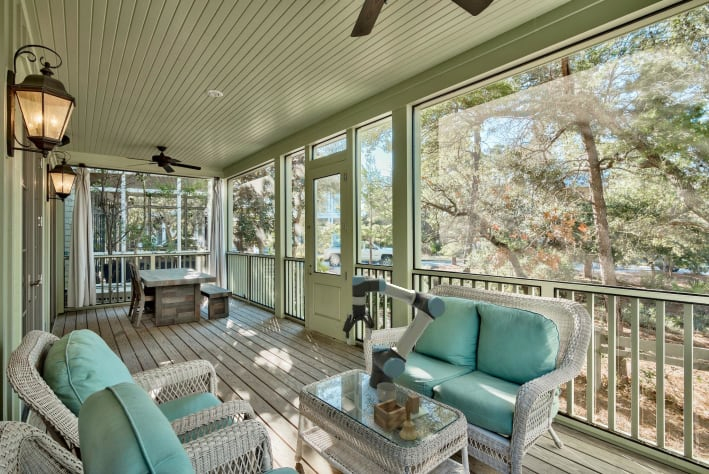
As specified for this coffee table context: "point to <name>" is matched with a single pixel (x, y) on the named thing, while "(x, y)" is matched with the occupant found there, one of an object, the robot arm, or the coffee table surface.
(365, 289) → the robot arm
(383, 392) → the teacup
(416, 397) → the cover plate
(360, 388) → the coffee table surface
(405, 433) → the hand bell
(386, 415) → the open box
